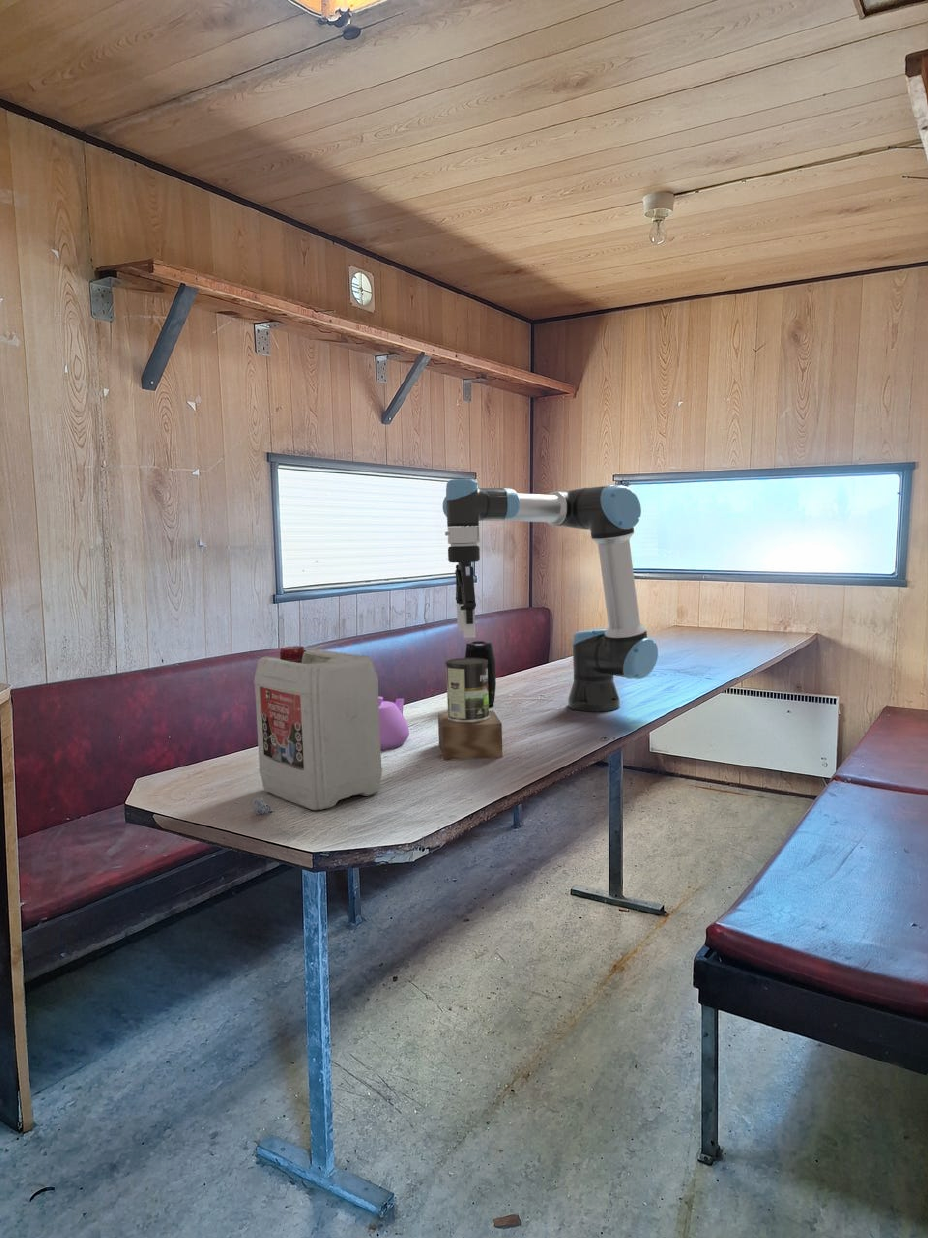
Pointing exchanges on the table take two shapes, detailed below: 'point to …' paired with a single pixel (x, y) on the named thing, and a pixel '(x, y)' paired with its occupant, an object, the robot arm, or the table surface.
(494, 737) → the walnut block
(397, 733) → the teapot
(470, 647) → the portable speaker
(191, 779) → the table surface
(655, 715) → the table surface
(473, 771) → the table surface
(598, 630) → the robot arm
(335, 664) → the jerry can
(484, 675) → the coffee can
